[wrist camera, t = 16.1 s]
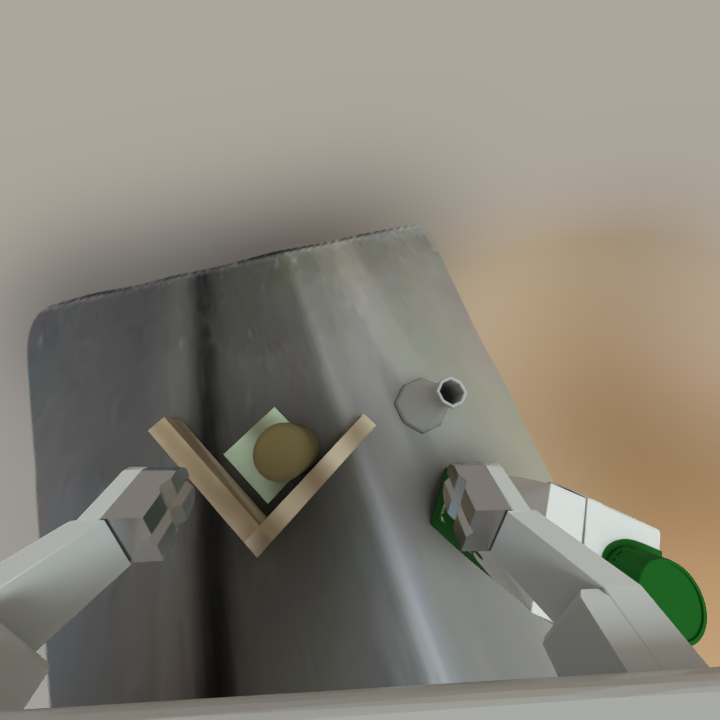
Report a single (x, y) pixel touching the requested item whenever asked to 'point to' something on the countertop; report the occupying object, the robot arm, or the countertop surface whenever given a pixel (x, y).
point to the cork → (285, 451)
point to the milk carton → (597, 551)
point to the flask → (429, 402)
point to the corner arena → (251, 476)
